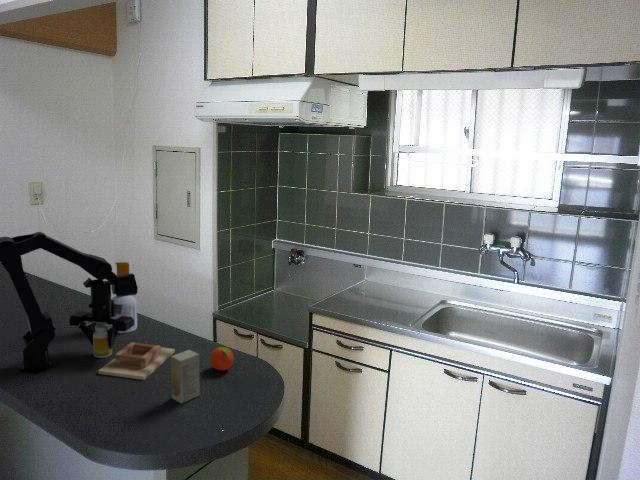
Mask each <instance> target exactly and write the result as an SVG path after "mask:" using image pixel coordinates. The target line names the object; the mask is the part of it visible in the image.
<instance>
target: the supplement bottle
mask: <svg viewBox="0 0 640 480" xmlns="http://www.w3.org/2000/svg"><path fill="white" fill-rule="evenodd" d="M109 329H110V325H107V324H98V323H97V324H96V326H95V332H94V333H93V346H92V350H93V356H94V357H96V358H99V359H103V358H108V357H110V356H111V355H112V354H113V348H111V349H110V348H109V343H108V336H107V330H109Z"/></svg>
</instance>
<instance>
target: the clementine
mask: <svg viewBox="0 0 640 480" xmlns="http://www.w3.org/2000/svg"><path fill="white" fill-rule="evenodd" d="M233 353H234V352H233V351H232V350H231V349H230V348H229V347H226V346H220V347H217V348H214V350H213V351H212V352H211V354H210V359H209V360H210V364H211V366H212V367H213V368H214V369H215V370H217V371H221V370H223V371H226V370H228V369H229V368H231V366H232V365H233V363H234V357H235V356H234V354H233Z"/></svg>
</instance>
